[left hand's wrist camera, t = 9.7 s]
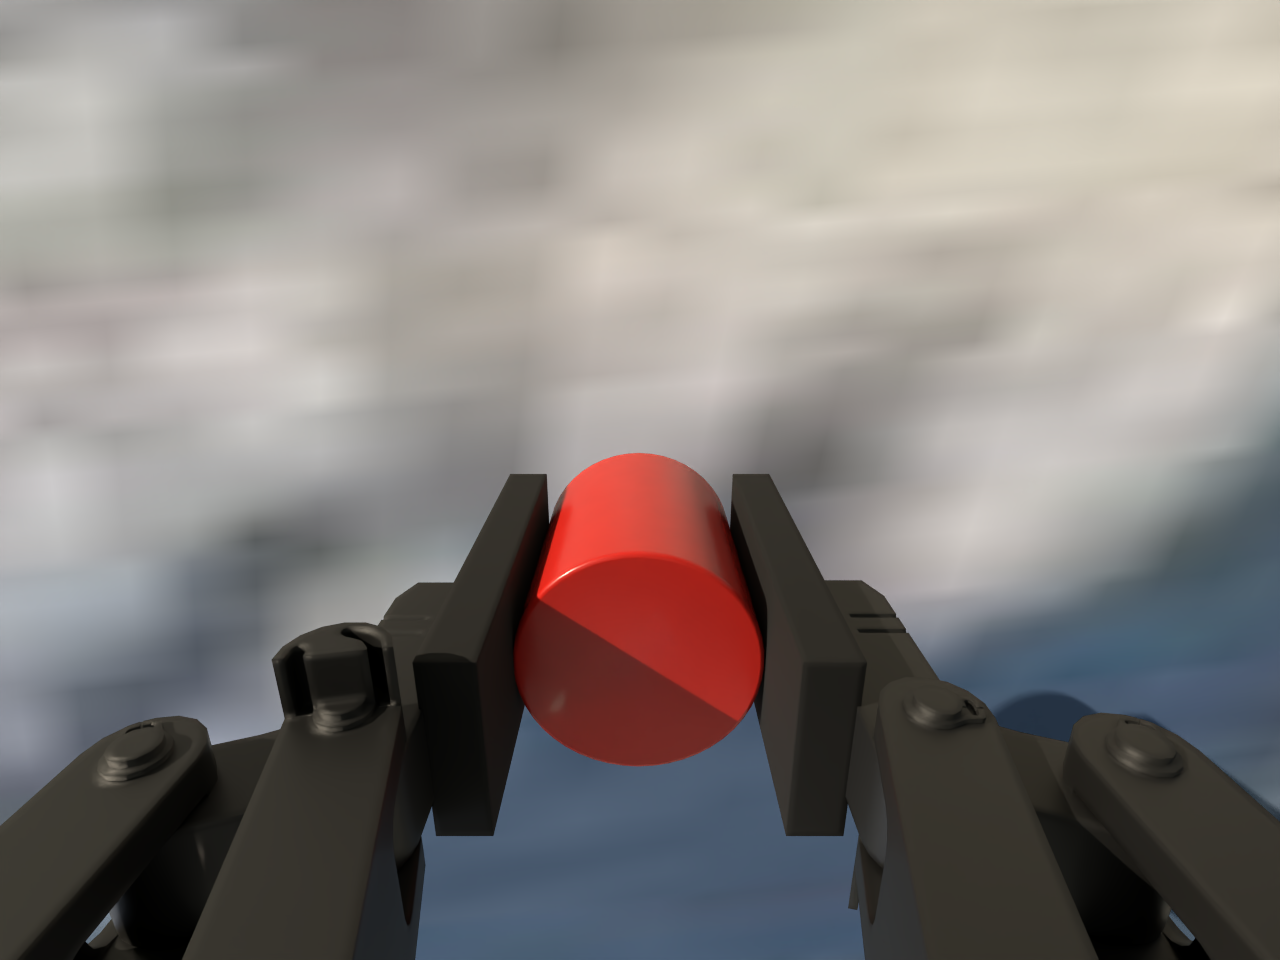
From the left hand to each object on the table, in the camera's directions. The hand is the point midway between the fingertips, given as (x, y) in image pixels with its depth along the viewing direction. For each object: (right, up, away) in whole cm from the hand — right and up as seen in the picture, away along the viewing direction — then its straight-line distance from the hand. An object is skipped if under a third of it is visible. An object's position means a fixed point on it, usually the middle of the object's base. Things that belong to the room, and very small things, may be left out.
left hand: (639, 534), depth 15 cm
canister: (0, 0, 0) cm, 0 cm away
